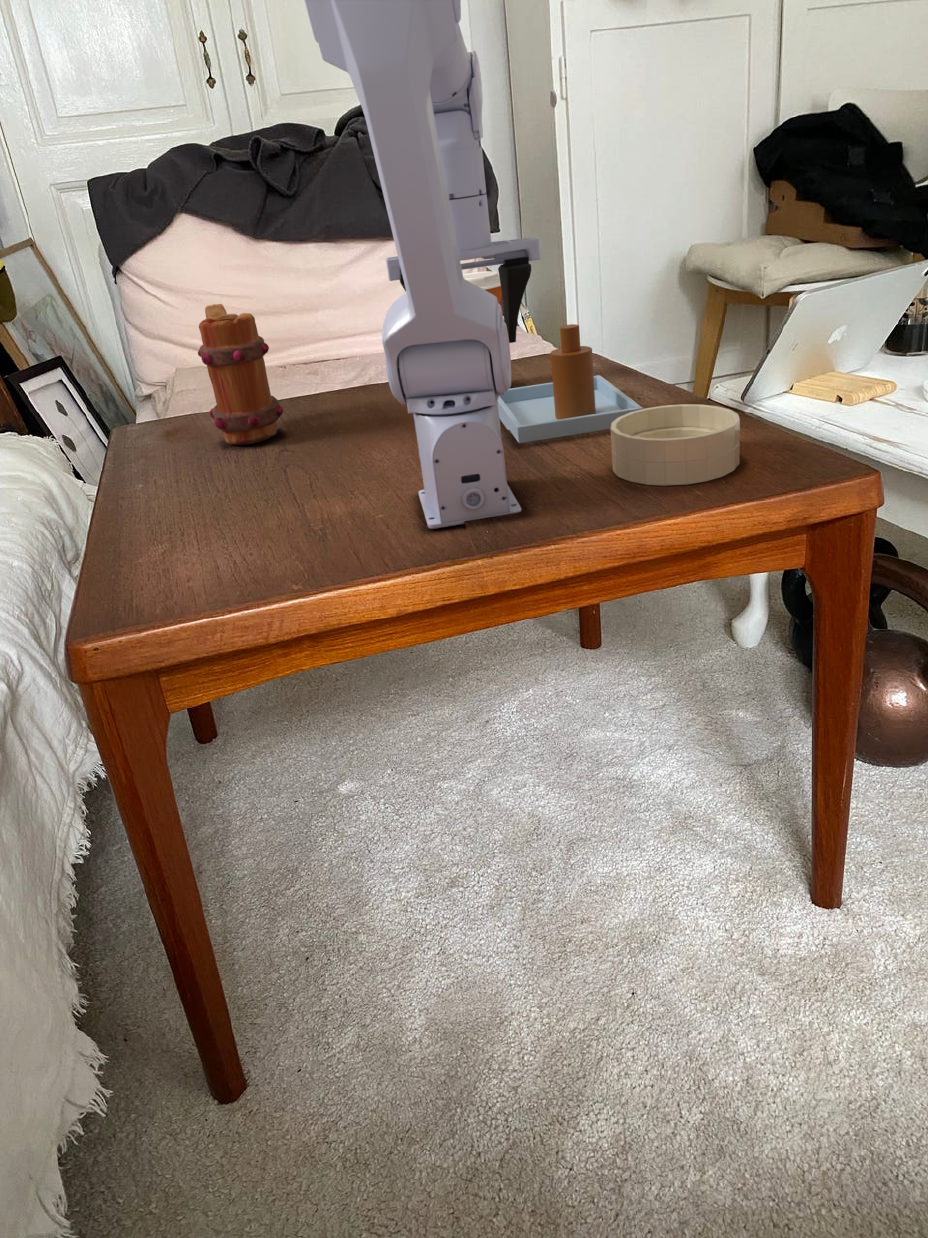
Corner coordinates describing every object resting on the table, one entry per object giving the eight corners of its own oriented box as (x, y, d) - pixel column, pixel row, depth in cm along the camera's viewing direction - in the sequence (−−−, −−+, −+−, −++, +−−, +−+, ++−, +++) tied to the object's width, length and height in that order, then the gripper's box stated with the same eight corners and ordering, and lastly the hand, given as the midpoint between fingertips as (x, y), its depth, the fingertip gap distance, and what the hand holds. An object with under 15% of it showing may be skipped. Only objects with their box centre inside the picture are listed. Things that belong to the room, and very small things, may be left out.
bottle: (600, 417, 102) (595, 326, 98) (560, 423, 101) (553, 332, 97) (590, 407, 106) (584, 320, 102) (551, 413, 105) (544, 325, 101)
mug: (294, 440, 111) (266, 307, 104) (224, 455, 108) (192, 320, 102) (270, 416, 123) (244, 296, 116) (207, 429, 121) (177, 307, 114)
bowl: (759, 478, 81) (760, 426, 79) (633, 498, 80) (631, 447, 78) (711, 444, 91) (711, 397, 89) (599, 462, 90) (596, 415, 88)
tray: (644, 427, 98) (643, 407, 97) (519, 447, 97) (517, 427, 97) (600, 392, 114) (599, 374, 113) (492, 408, 113) (490, 391, 112)
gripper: (524, 186, 92) (536, 329, 98) (376, 206, 91) (397, 350, 97) (539, 187, 86) (551, 340, 92) (380, 209, 85) (402, 362, 91)
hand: (472, 346), depth 94 cm, fingers open, 7 cm apart
